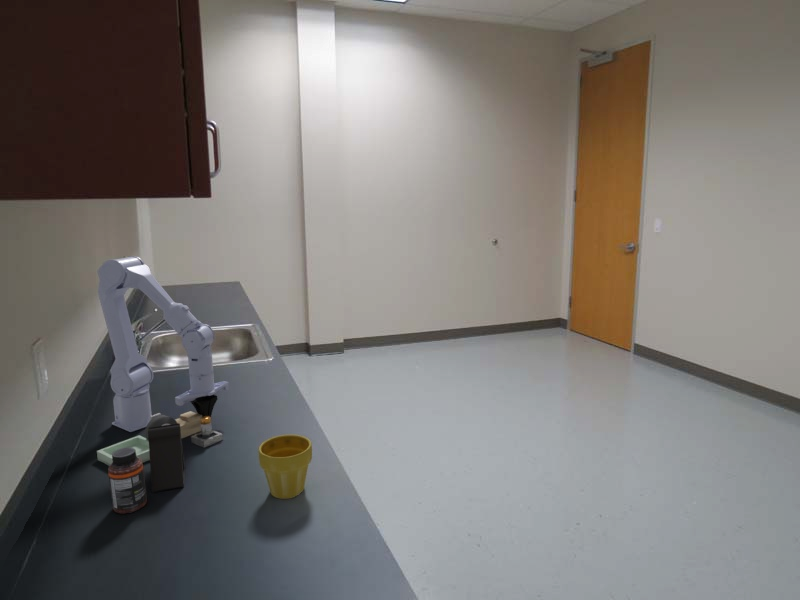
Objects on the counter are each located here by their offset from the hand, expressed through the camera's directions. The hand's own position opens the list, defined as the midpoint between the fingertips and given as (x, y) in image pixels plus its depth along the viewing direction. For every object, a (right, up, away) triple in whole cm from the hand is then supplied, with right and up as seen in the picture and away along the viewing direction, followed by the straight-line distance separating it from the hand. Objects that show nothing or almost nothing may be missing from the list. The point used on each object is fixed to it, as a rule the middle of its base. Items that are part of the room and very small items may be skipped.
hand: (205, 423), depth 140 cm
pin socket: (+3, -3, -8) cm, 9 cm away
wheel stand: (-7, -3, -9) cm, 12 cm away
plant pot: (+28, -7, -31) cm, 42 cm away
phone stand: (+2, -6, -26) cm, 27 cm away
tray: (-11, -4, -16) cm, 20 cm away
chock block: (-4, -2, -3) cm, 5 cm away
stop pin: (+3, -3, -8) cm, 9 cm away
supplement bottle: (-1, -8, -36) cm, 37 cm away
